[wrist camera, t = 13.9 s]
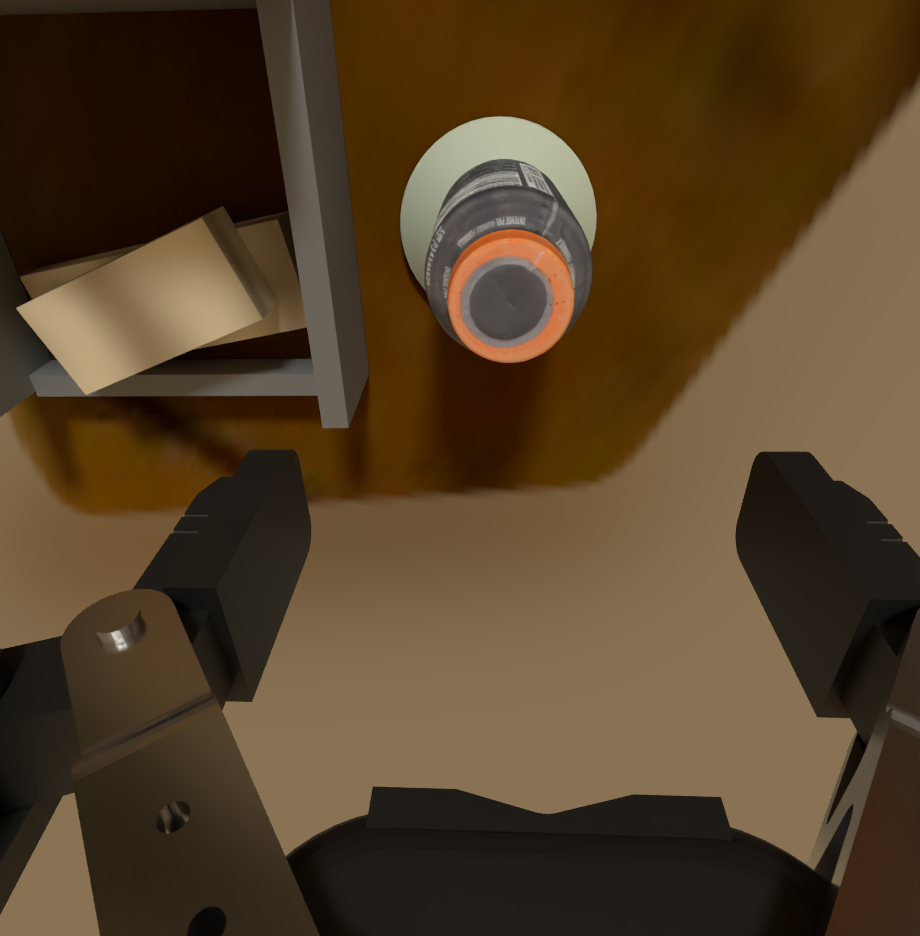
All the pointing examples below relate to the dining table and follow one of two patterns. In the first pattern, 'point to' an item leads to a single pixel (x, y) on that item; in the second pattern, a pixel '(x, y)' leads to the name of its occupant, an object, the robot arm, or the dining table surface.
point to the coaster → (475, 148)
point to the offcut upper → (152, 303)
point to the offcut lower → (267, 247)
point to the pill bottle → (507, 262)
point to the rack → (312, 222)
